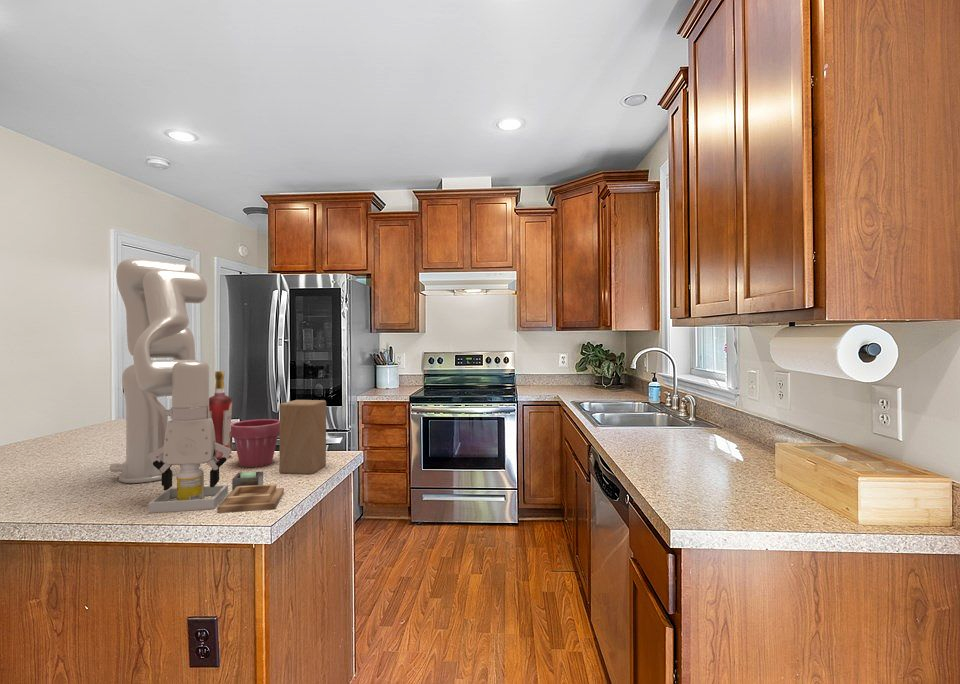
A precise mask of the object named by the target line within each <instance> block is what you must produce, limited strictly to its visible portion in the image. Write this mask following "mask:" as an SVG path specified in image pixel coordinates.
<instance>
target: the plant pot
mask: <svg viewBox="0 0 960 684" xmlns="http://www.w3.org/2000/svg"><path fill="white" fill-rule="evenodd" d="M279 435H280V419H273V418H268V419H267V418H262V419H249V420H242V421H236V422H232V423H231V431H230V438H233V440H234V446H235V450H236V454H237V457H238V462H239V465H240V467H244V468H257V467H263V466H267V465H270V464H272V463H273V460H274V455H275V451H276V446H277V441H278V438H279V437H278V436H279Z"/></svg>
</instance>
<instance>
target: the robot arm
mask: <svg viewBox="0 0 960 684" xmlns="http://www.w3.org/2000/svg"><path fill="white" fill-rule="evenodd" d="M115 275H116V278H115V279H116V283H117V289H118V291H119V295H120V296H121V299H122V302H123V304H124V308H125V314H126V317H125V318H126V338H127V339H126V340H127V341H126V342H127V349H128V352H129V354H130V355H131V356H132V357H133V364H131V365H129V366H128V367H126V368H125V369H124V370H123V372H122V374H121V375H122V376H121V381H122V382H121V384H122V387H123V393H124V400H125V417H126V418H125V419H126V421H125V422H126V423H125V424H126V426H125V429H126V431H125V440H126V441H125V442H126V444H125V447H126V449H125V457H126V458H125V460H126V461H125V462H123V463H111V464H110V466H109V471H110V472H111V473H118V472H120V473H121V474H120V475H119V477H118V481H119V482H121V483H125V484H137V483H139V484H141V483H149V482H155V481H160V480H161V486H162V487H163V491H165V490H168V489H169V488H173V475H174V474H175V469H174V468H172V466H180V465H188V464H200V465H202V464H207V465H208V466H209V467H210V468H211V469H210V471H209V486H210V487H214V486H216V485H217V484H218V483H219V482H220V467H222V466H223V465H224V464H225V463H226V462H227V461H228V458H229V457H230V455H231V454H232V452H233V451H232V448H231V447H230V448H228V447H225V446H223V445H221V444H218V443H216V438H215V430H214V425H213V421H212V418H209V398H210V367H209V364H208V363H207V362H206V361H199V360H198V359H197V360H196V346H195V345H196V343H195V338H194V335H193V332H192V330H191V329H190V328H189V327H188V326H189V324H190V320H189V315H188V310H187V306H186V304H201V303H203V302H204V301H205V300H206V298H207V295H208V285H207V283H206V280H205V278H204V276H203V275H202V273H200V272H199V271H198V270H196V269H195V268H193V267H192V266H191V265H189V264H187V263H181V262H172V261H165V260H164V261H163V260H154V259H147V258H129V259H128V258H127V259H124V260H122V261H120V262H119V263H118V265H117V268H116V273H115ZM167 358H168V359H167ZM169 358H170V359H169ZM152 359H153V360H152ZM155 359H158V360H155ZM160 359H161V360H160ZM170 396H171V407H170V408H169V409H166V407H165V406H164V405H163V404H162V403H161V401H159V400H158V398H160V397H170ZM169 417H170V419H171V420H168V418H169ZM216 450H217V451H220V452H222V453H223V456H222V458H221V459H220V460H217V459H216V458H215V456H216ZM230 453H231V454H230Z"/></svg>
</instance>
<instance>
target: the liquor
mask: <svg viewBox="0 0 960 684" xmlns="http://www.w3.org/2000/svg"><path fill="white" fill-rule="evenodd" d="M214 379H215V387H214V393H213V396H209V418H212V421H213V425H214V430H215V438H216V443H218V444H221V445H223V446H225V447H228V448H230V449H231V424H232V416H233V415H232V412H233V398H232V397H230V396H229V395H226V392H225V382H224V380H225V371H224V370H215V371H214ZM231 454H232V452H231V453H230V455H231ZM222 456H223V453H222V452H220V451H217V450H216V456H215V458H216V459H217V460H218V461H219V460H220V459H221V458H222Z"/></svg>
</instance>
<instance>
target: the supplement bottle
mask: <svg viewBox="0 0 960 684" xmlns="http://www.w3.org/2000/svg"><path fill="white" fill-rule="evenodd" d="M179 466H180V467H179V468H180V471H179V472H178V473H177V474H176V488H177V497H176V498H177V499H176V501H178V500H195V499H205V496H204V486H205V482H204V481H205V478H204V477H205V475H204V470H203V468H202V469H201V468H200V467H201V464H188V465H179Z"/></svg>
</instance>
